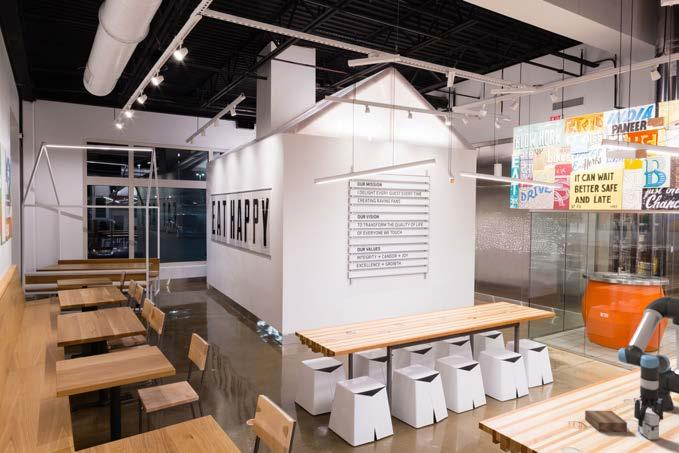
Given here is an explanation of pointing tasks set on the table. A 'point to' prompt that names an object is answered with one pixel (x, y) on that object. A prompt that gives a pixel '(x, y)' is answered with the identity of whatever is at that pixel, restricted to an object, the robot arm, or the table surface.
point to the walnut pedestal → (605, 421)
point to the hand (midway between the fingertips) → (648, 432)
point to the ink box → (651, 425)
